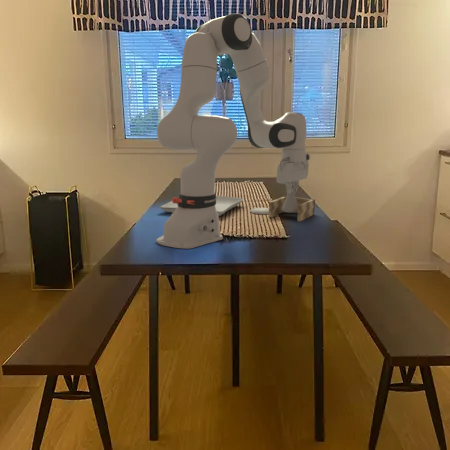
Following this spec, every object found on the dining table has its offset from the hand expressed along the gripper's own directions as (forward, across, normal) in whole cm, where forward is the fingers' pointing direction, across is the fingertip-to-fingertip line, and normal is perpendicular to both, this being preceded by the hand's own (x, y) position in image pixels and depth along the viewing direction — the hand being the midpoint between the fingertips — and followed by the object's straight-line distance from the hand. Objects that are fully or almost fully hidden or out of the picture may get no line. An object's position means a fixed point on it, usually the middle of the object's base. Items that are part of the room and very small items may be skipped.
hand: (291, 192), depth 178 cm
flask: (+8, 0, 0) cm, 8 cm away
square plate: (+10, -8, +36) cm, 39 cm away
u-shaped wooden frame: (+9, +2, 0) cm, 10 cm away
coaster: (+9, +2, +14) cm, 16 cm away
